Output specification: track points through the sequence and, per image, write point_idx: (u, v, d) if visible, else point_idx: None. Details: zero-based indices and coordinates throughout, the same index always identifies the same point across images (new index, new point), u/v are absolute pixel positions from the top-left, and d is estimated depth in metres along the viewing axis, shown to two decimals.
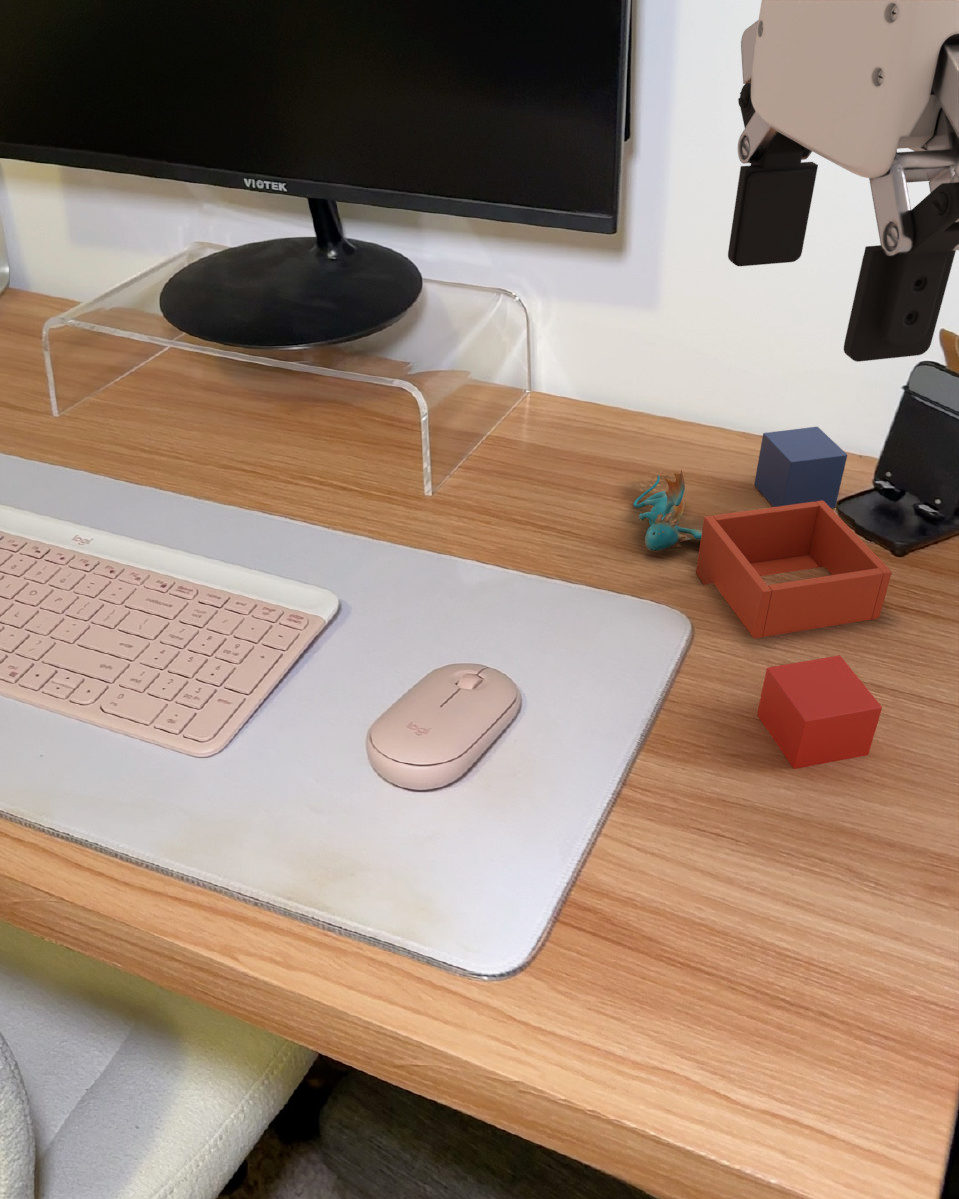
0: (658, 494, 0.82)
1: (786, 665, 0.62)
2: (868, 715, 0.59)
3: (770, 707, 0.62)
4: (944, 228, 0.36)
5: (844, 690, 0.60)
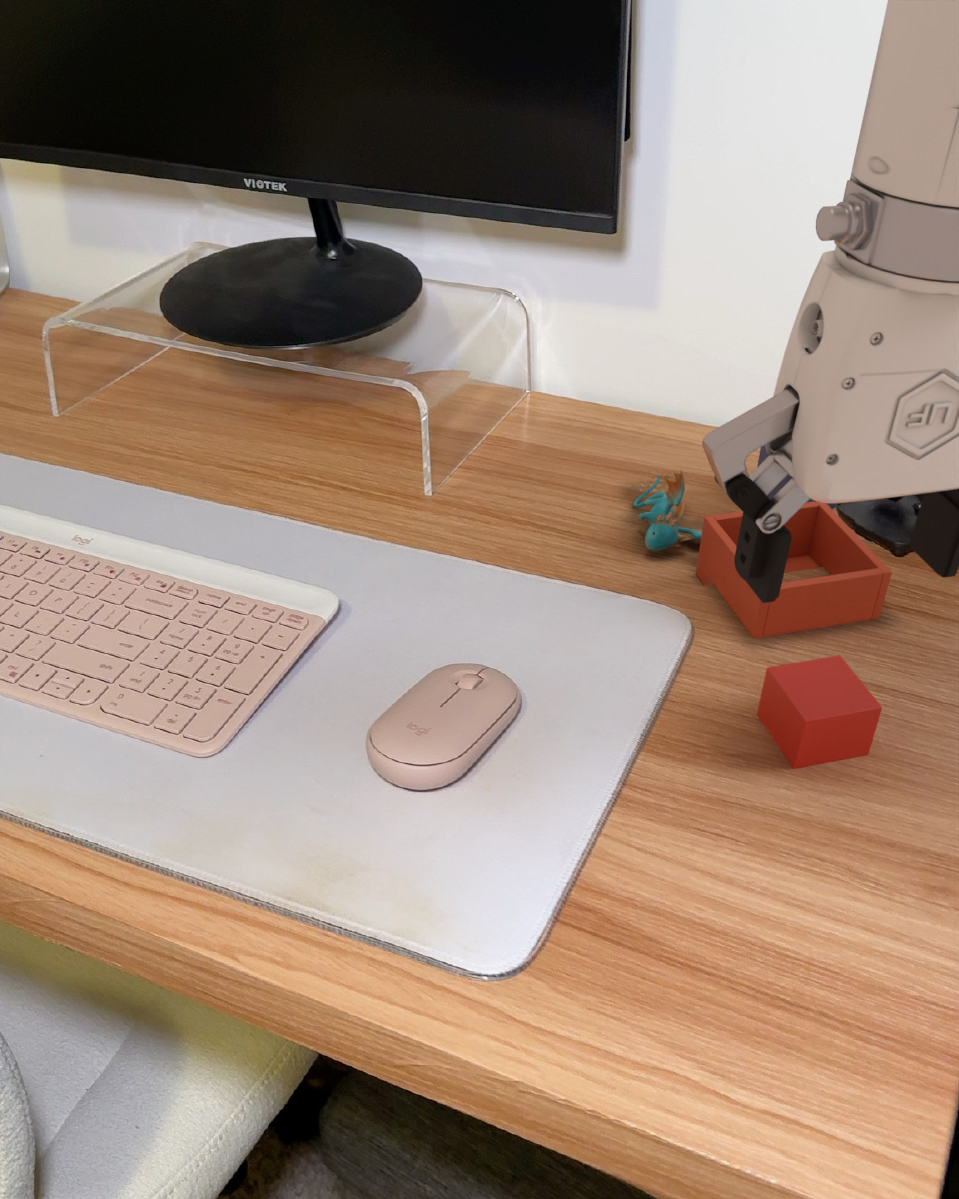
0: (658, 494, 0.82)
1: (786, 665, 0.62)
2: (868, 715, 0.59)
3: (770, 707, 0.62)
4: None
5: (844, 690, 0.60)
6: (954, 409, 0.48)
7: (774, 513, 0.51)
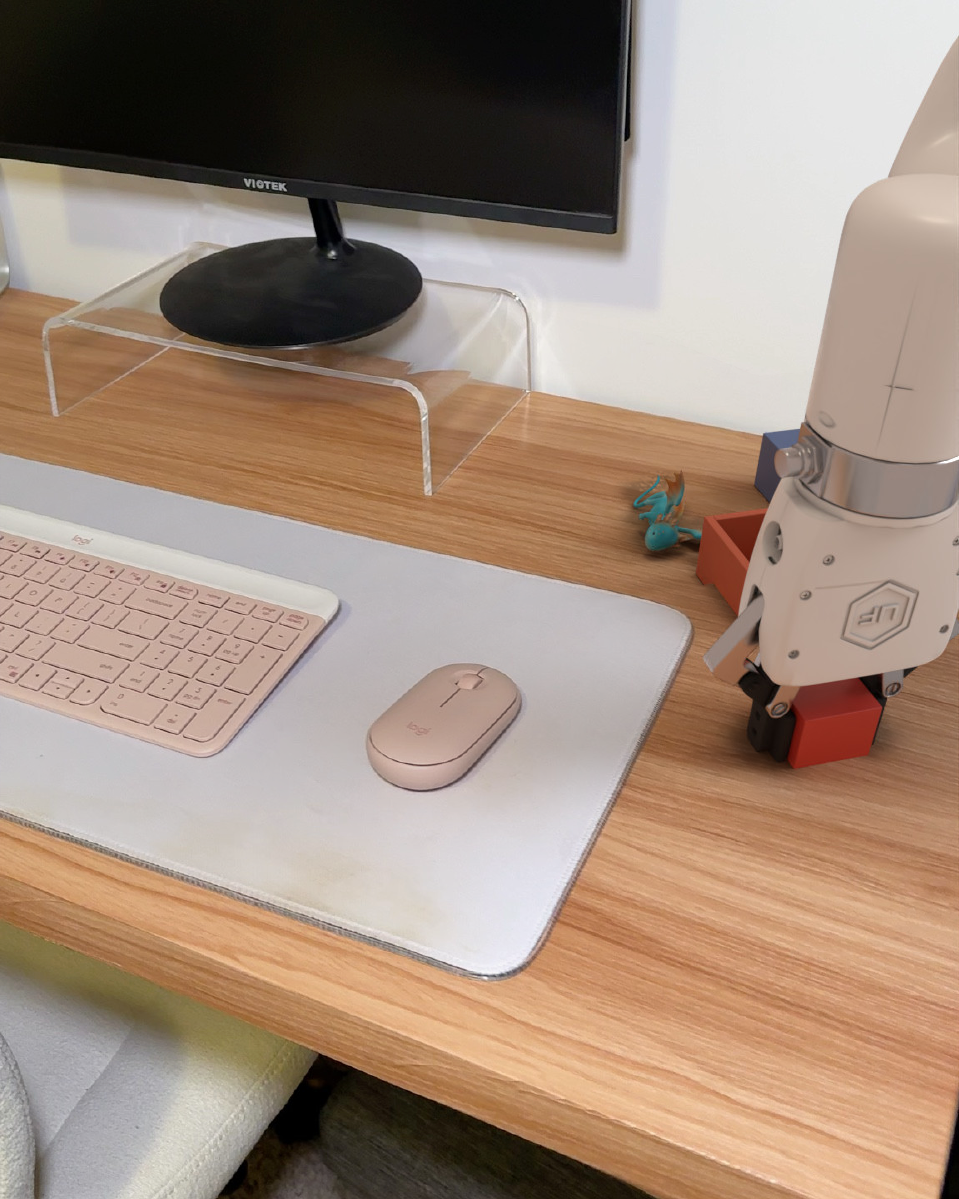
0: (658, 494, 0.82)
1: None
2: (868, 715, 0.59)
3: None
4: None
5: (844, 690, 0.60)
6: (901, 608, 0.55)
7: (777, 703, 0.58)
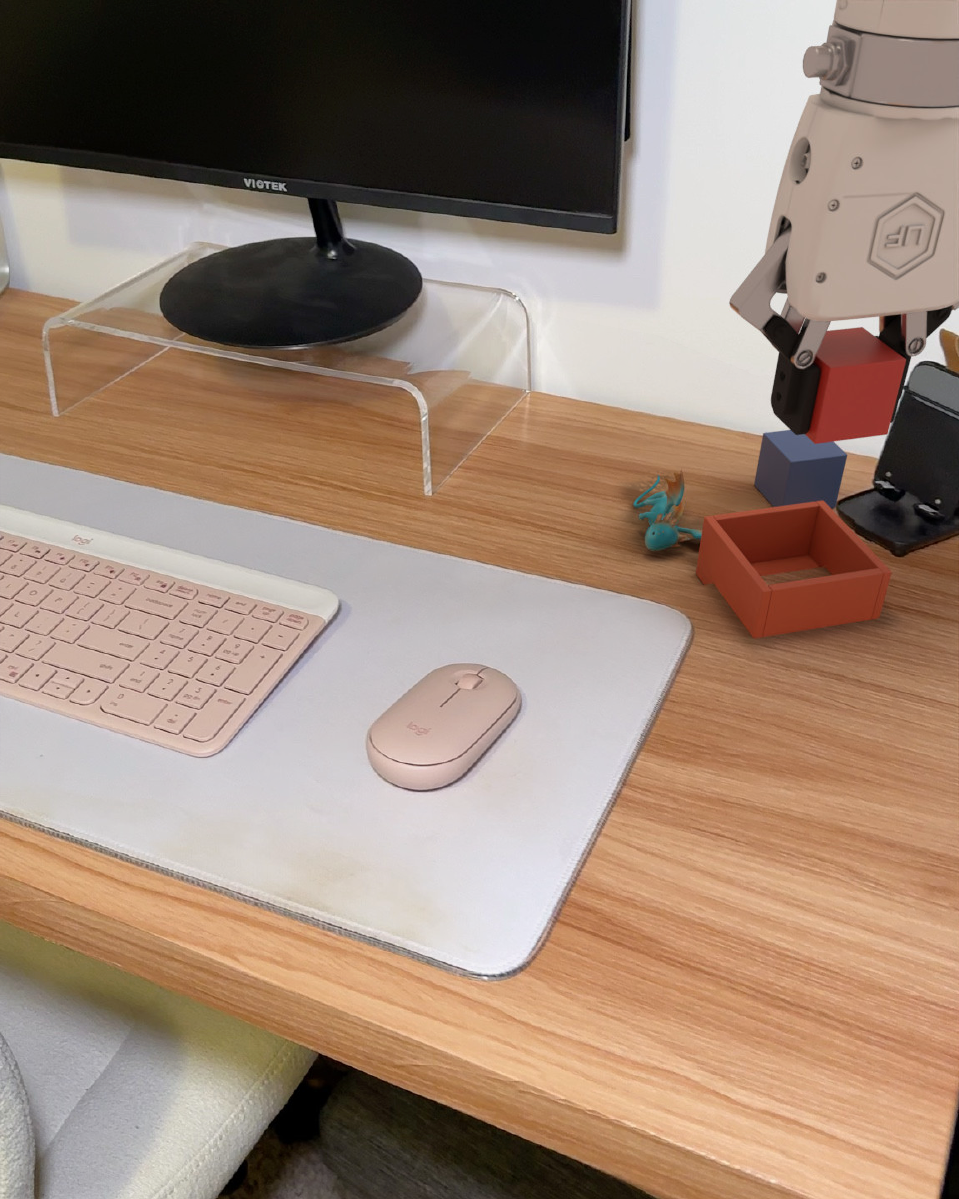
0: (658, 494, 0.82)
1: None
2: (892, 368, 0.60)
3: None
4: (763, 333, 0.60)
5: (867, 349, 0.61)
6: (926, 231, 0.55)
7: (803, 351, 0.59)
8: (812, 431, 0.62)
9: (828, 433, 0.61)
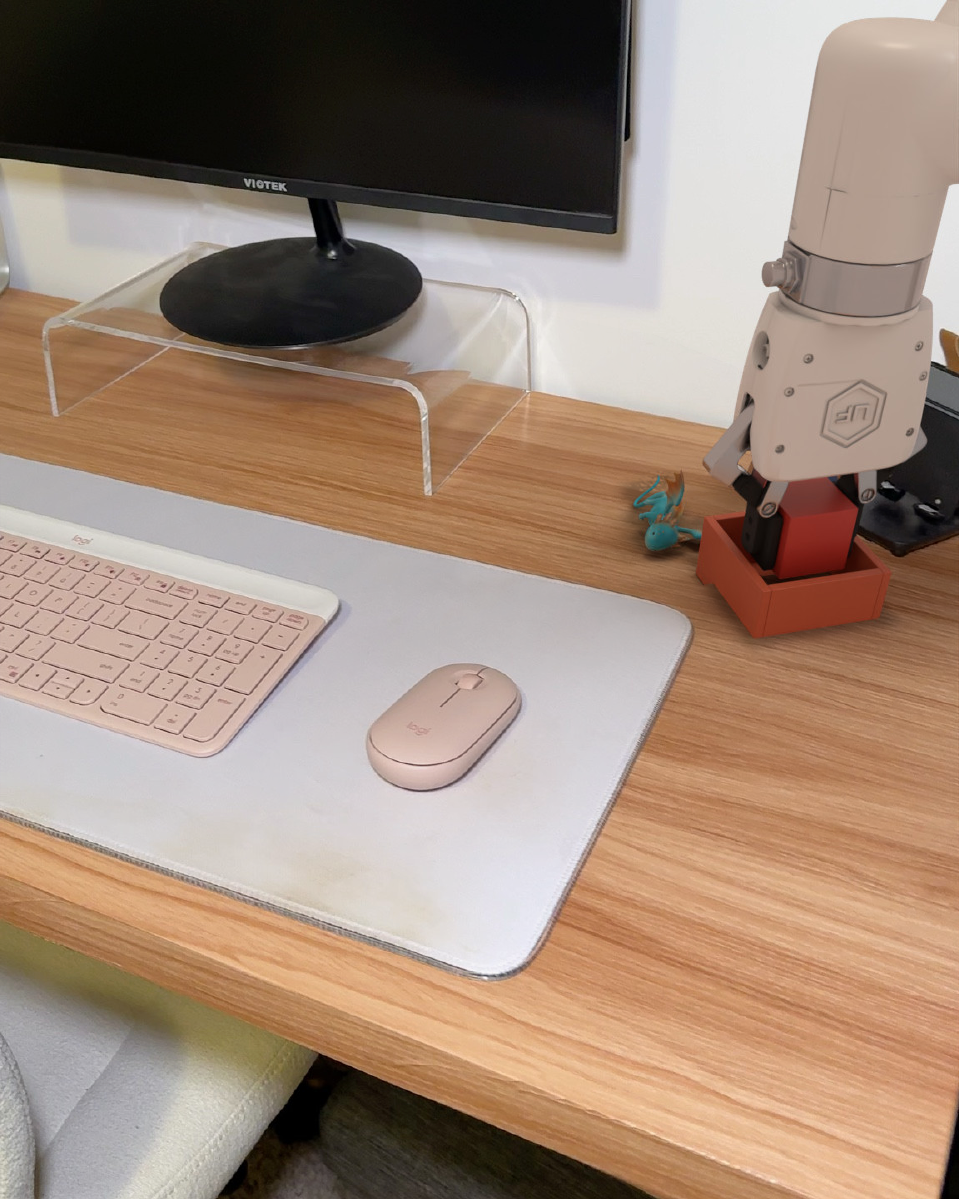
0: (658, 494, 0.82)
1: None
2: (846, 516, 0.68)
3: None
4: None
5: (825, 497, 0.69)
6: (872, 409, 0.63)
7: (767, 503, 0.67)
8: (777, 567, 0.70)
9: (790, 570, 0.70)
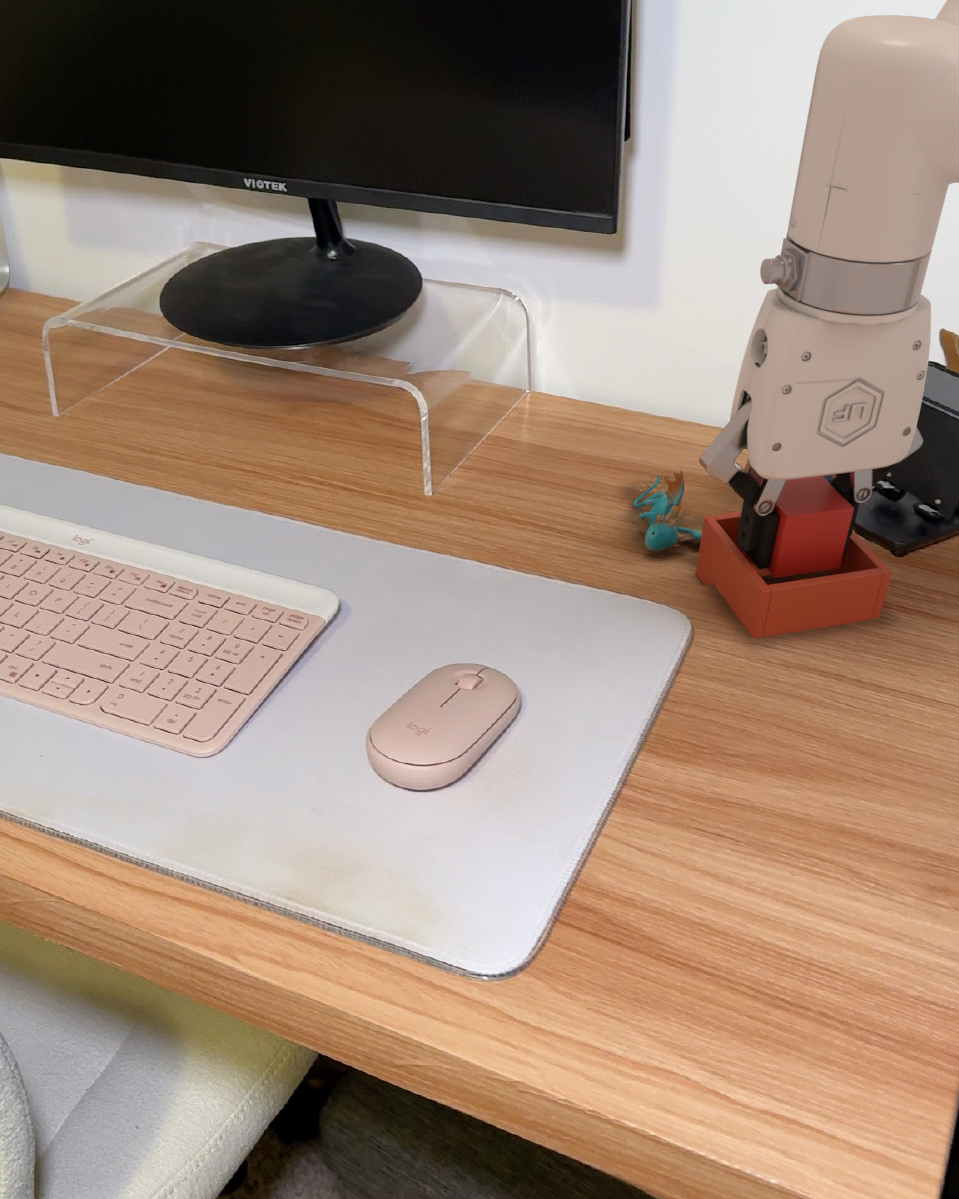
0: (658, 494, 0.82)
1: None
2: (841, 515, 0.68)
3: None
4: None
5: (821, 496, 0.69)
6: (869, 408, 0.63)
7: (763, 501, 0.67)
8: (772, 566, 0.70)
9: (785, 569, 0.70)
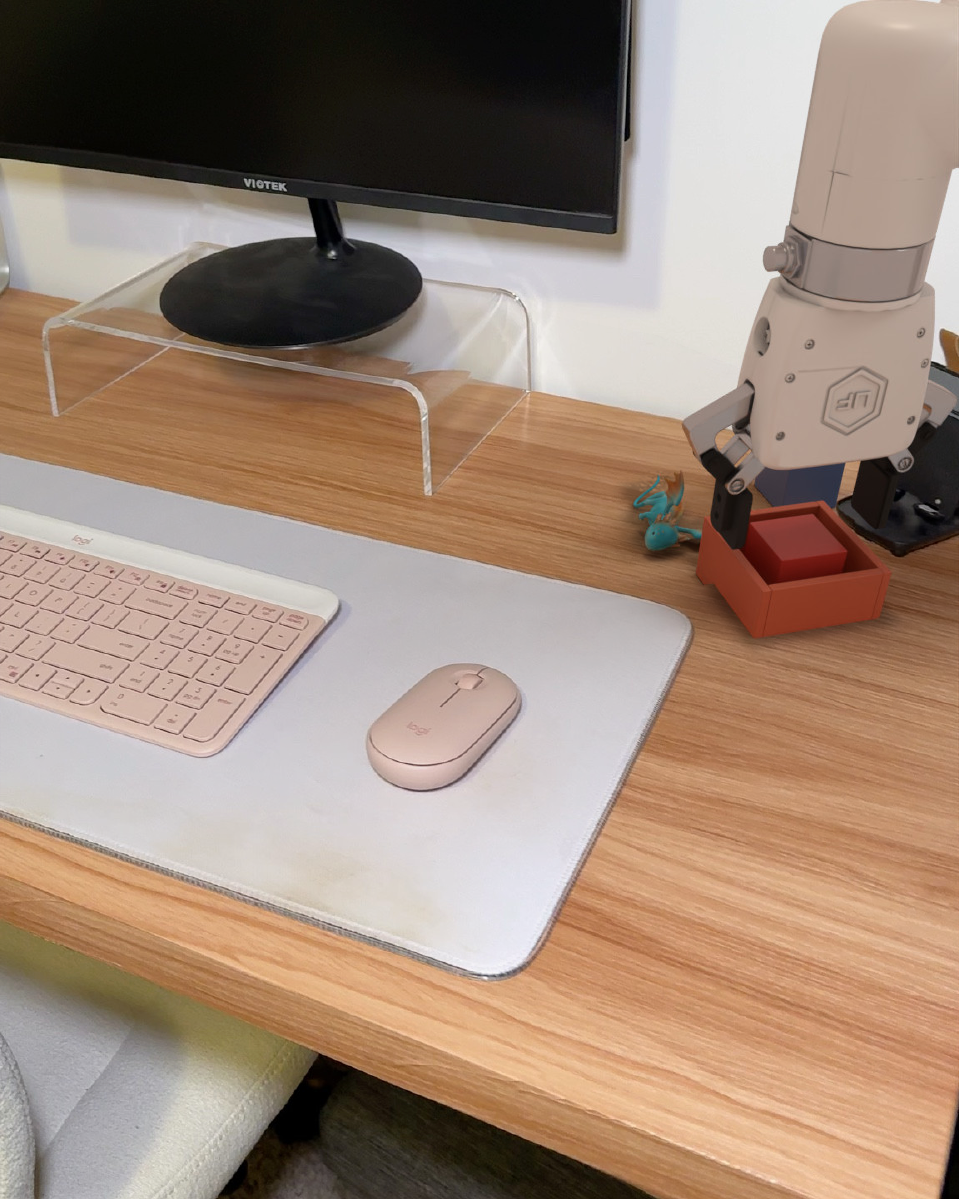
0: (658, 494, 0.82)
1: (767, 521, 0.73)
2: (835, 558, 0.70)
3: (753, 557, 0.73)
4: None
5: (815, 539, 0.71)
6: (873, 396, 0.63)
7: (738, 478, 0.66)
8: None
9: None
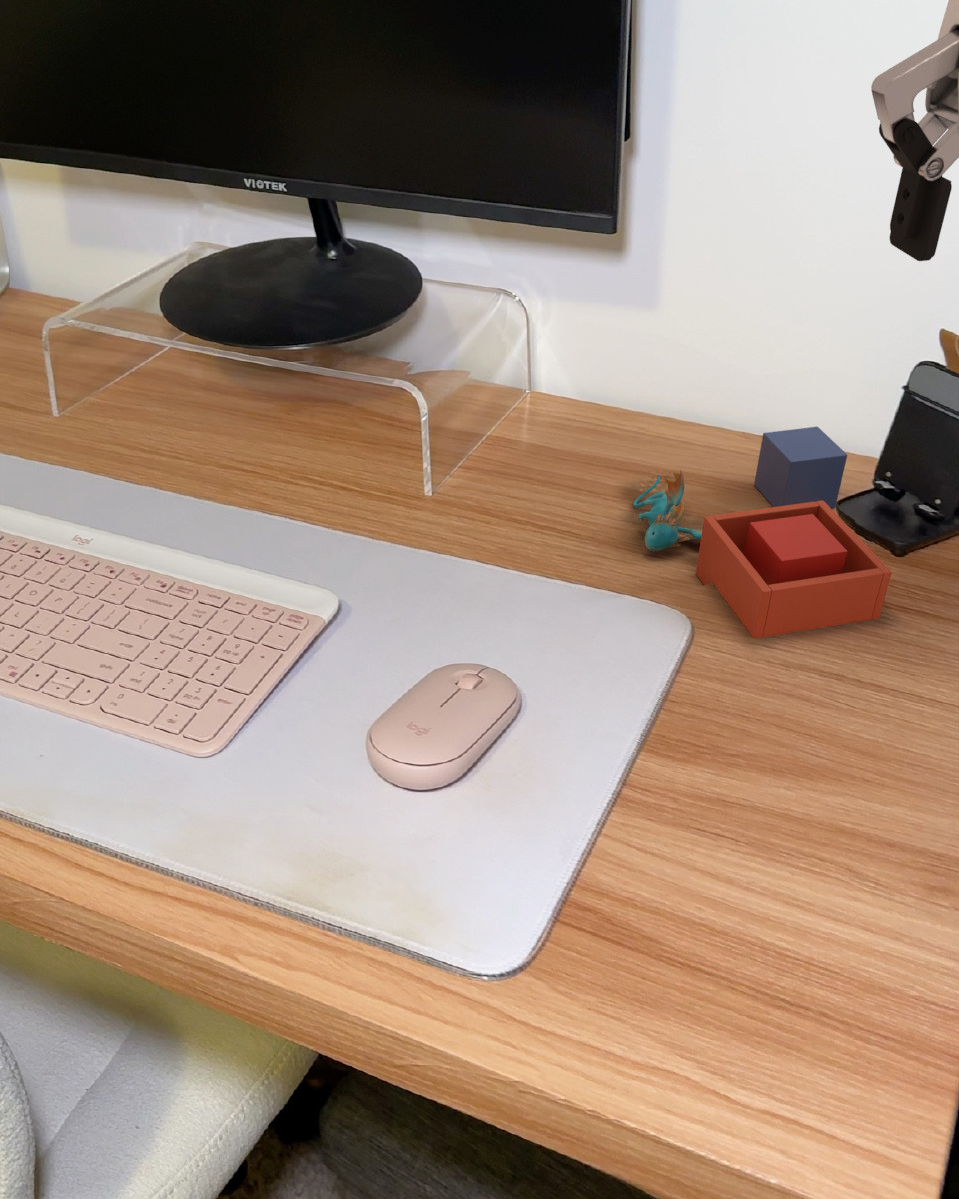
0: (658, 494, 0.82)
1: (767, 521, 0.73)
2: (835, 558, 0.70)
3: (753, 557, 0.73)
4: (887, 143, 0.55)
5: (815, 539, 0.71)
6: None
7: (937, 158, 0.54)
8: None
9: None
